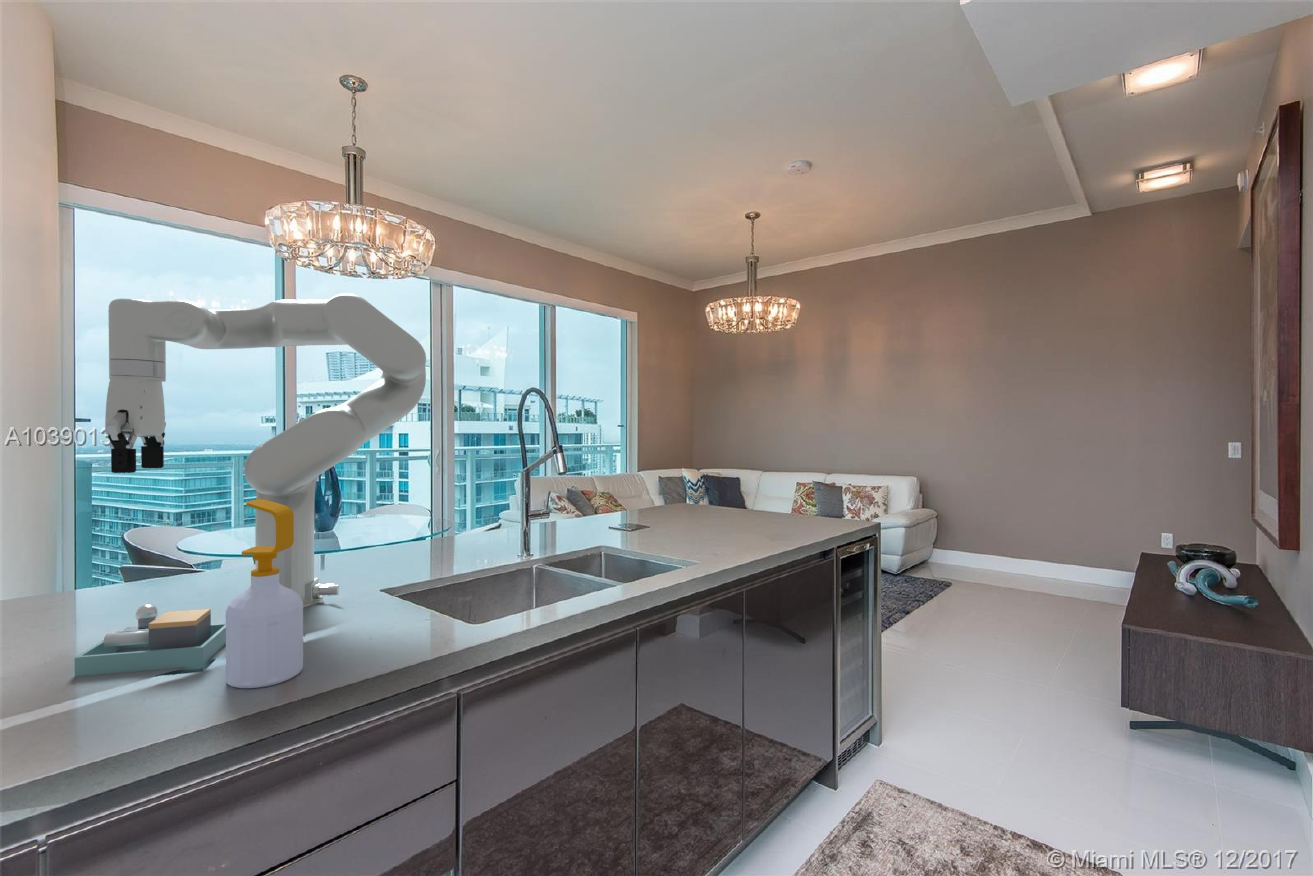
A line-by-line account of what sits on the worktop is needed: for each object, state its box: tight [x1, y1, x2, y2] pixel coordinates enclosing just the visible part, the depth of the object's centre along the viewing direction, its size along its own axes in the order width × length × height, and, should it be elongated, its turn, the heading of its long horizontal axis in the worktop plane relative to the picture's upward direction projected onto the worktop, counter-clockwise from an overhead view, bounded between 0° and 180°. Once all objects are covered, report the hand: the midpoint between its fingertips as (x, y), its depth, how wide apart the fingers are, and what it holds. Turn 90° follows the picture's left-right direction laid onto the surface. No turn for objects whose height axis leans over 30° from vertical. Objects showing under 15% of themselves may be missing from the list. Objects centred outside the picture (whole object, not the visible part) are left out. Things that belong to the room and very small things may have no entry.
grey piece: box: [122, 603, 159, 631], centre depth 97 cm, size 9×9×6 cm
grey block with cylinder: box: [103, 608, 212, 650], centre depth 88 cm, size 12×6×6 cm, turn 108°
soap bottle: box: [225, 499, 304, 689], centre depth 85 cm, size 9×9×25 cm
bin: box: [73, 622, 226, 677], centre depth 89 cm, size 15×11×4 cm
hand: (138, 470), depth 106 cm, fingers open, 9 cm apart
